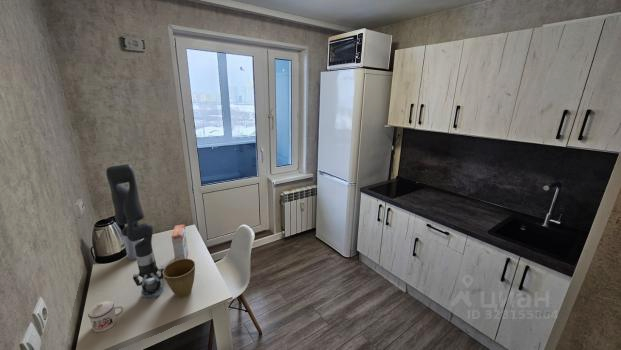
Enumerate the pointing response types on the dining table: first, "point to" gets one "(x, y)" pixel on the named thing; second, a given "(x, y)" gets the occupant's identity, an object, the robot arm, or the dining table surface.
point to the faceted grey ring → (152, 295)
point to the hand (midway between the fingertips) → (152, 287)
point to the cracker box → (180, 242)
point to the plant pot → (180, 276)
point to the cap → (151, 285)
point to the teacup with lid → (103, 316)
